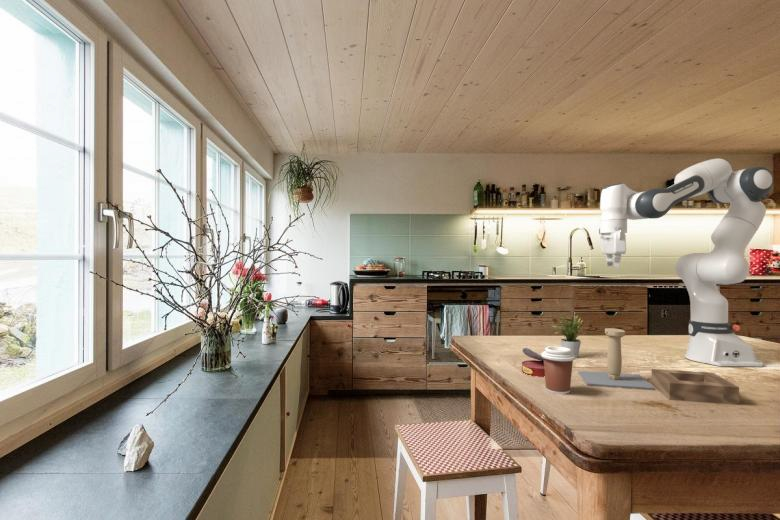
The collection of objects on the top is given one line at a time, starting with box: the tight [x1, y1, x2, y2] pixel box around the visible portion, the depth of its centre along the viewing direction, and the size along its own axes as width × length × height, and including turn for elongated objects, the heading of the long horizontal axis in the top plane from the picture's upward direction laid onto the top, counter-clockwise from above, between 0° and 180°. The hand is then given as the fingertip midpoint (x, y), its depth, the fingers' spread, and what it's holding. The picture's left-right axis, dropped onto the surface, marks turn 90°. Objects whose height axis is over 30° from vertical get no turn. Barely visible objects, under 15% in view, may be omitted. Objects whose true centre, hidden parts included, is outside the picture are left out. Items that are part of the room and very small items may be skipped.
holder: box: [651, 368, 740, 405], centre depth 122 cm, size 16×14×4 cm
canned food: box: [521, 347, 545, 378], centre depth 143 cm, size 11×10×10 cm
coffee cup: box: [540, 345, 576, 395], centre depth 124 cm, size 9×9×12 cm
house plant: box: [550, 314, 589, 359], centre depth 166 cm, size 14×14×16 cm
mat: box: [578, 370, 656, 391], centre depth 134 cm, size 18×14×1 cm
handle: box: [604, 327, 626, 380], centre depth 134 cm, size 5×6×15 cm
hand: (612, 266), depth 159 cm, fingers open, 8 cm apart
